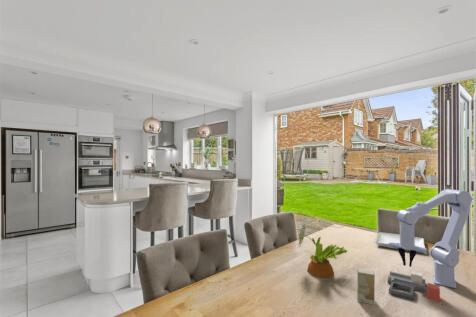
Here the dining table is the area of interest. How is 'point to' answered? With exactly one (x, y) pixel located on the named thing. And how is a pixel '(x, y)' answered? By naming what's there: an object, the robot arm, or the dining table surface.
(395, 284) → the grey square frame
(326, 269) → the decorative plant
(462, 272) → the dining table surface
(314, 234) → the dining table surface
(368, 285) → the skincare box
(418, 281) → the block
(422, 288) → the breaker panel
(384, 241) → the square plate
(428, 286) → the red block
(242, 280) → the dining table surface
